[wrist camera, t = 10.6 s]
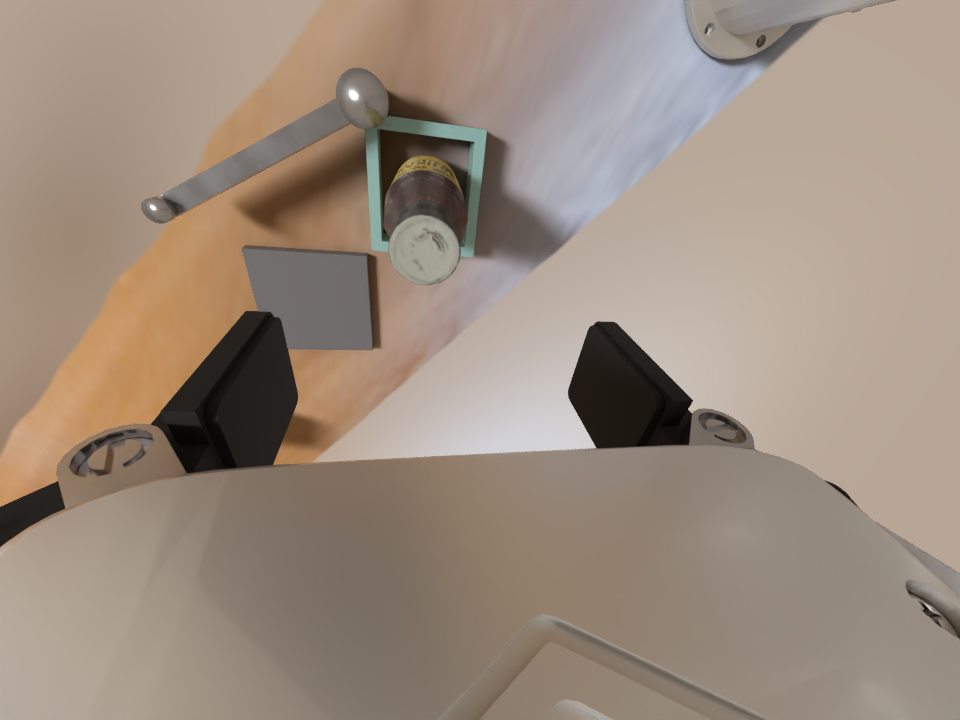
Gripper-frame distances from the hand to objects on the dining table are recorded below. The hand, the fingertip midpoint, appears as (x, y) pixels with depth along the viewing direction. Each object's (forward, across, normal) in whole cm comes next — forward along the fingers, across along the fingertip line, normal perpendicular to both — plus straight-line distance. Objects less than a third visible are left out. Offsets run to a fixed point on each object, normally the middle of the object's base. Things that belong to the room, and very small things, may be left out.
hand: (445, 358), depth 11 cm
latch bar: (+26, +12, -2) cm, 29 cm away
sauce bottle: (+31, 0, 0) cm, 31 cm away
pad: (+30, +12, +13) cm, 35 cm away
